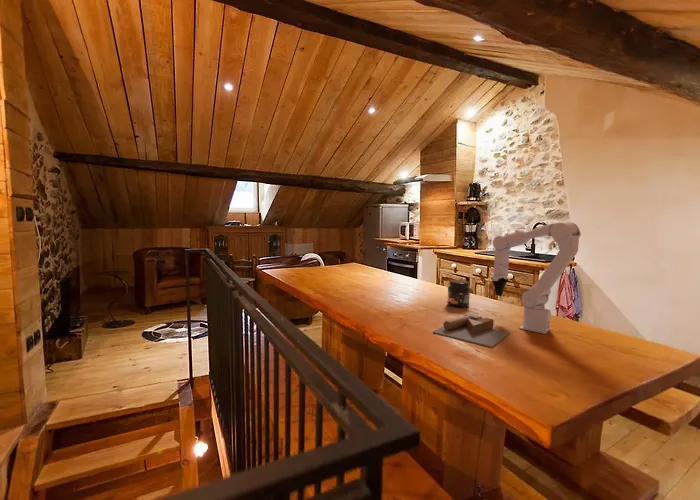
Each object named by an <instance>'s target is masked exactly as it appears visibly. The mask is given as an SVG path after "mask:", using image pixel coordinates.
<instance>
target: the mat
mask: <svg viewBox="0 0 700 500" xmlns="http://www.w3.org/2000/svg"><path fill="white" fill-rule="evenodd" d="M432 334H436V335H439V336H443V337H447V338H451V339H455V340H458V341H463V342H468V343H471V344H475V345H479V346H483V347H487V348H490V349H492V348H494V347H495V346H496V345H498V344H499V343H500V342H501V341H502V340H504V339H505V338H506V337H508V336H509V335H510V334H511V333H510V332H509V331H505V330H500V329H496V328H492V329H489V330H486V331H483V332H480V333H477V334H474V335H472V333H471V332H470V330H469V329H468V328H467V325H465V326H462V327H459V328H455V329H452V330H446V329H445V328H444V325H442V326H441V327H440V328H438V329H435V330H433V331H432Z"/></svg>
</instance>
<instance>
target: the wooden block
mask: <svg viewBox="0 0 700 500" xmlns="http://www.w3.org/2000/svg"><path fill="white" fill-rule="evenodd" d="M465 325H467V328H468V329H469V330H470V332H471V333H472V335H474V334H477V333H480V332H483V331H486V330H489V329H494V319H493V318H489V317H482V316H481V315H478V314H474V313H467V314H464V316H460V317H456V318H453V319H449V320H445V321H444V323H443V326H444V328H445V329H446V330H452V329H455V328H459V327H462V326H465Z"/></svg>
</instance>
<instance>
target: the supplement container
mask: <svg viewBox="0 0 700 500" xmlns="http://www.w3.org/2000/svg"><path fill="white" fill-rule="evenodd" d="M448 284H449V286H448V287H447V301H446V303H447V305H448V306H450V307H452V308H458V309H465V308H468V307H469V306H470V298H471V296H470V295H471V294H470V293H471V288H470V281H468V280H462V279H451V280H449V281H448Z"/></svg>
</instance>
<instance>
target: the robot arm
mask: <svg viewBox="0 0 700 500" xmlns="http://www.w3.org/2000/svg"><path fill="white" fill-rule="evenodd" d="M544 236H548V237H551V238H552V239H553V240H554V242H556V244H557V246H558V249H559V251H558V252H557V253H556V255H555V256H554V258H553V259H552V260H551V262H550V264H549V265H548V266H547V268H546V269H545V270H544V272H543V273H542V275H540V277H539V279H538V280H537V282H536V283H535V284H534V285H532V286H531V287H529V289H528V290H526V291H524V292H523V293H522V295H521V302H522V304H523V316H522V317H523V318H522V325H520V326H519V329H520V330H525V331H530V332H535V333H538V334H539V333H540V334H543V335H544V334H547V333H548V332H549V331H550V330H551V329H550V327H551V316H552V315H551V313H552V311H551V310H550V309H547V308H545V304H547V302H548V301H549V299H550V298H549V296H550V295H551V293H552V290H551V289H552V288H553V286H554V285H555V283H556V282H557V281H558V279H559V278H560V277H561V275H562V274H563V273H564V271H565V270H566V269H567V267H568V266H569V265H570V263H571V262H572V261H573V259H574V258H575V257H576V255H577V254H578V252H579V242H580V237H581V236H582V233H581V231H580V228H579V226H578V225H577V224H575V222H555V223H549V224H545V225H542V226H540V227H536V228H533V229H531V230H528V231H524V230H522V229H521V230H520V229H516V230H514V232H511V233H504V236H503V235H497V236H495V237H494V238H493V240H492V246H493V248H494V257H493V258H494V259H493V272H491V273H490V276H491V277H492V278H491V281H492V284H493V287H494V290H495V295H496V296H498V297H502V296H503V293H504V290H505V287H506V285H507V284H508V282H509V279H507V278H508V277H509V263H510V251H511V249H512V248H514V247H518V246H522V245H525V244H527V243H528V241H529V240H533V239H536V238H540V237H544Z"/></svg>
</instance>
